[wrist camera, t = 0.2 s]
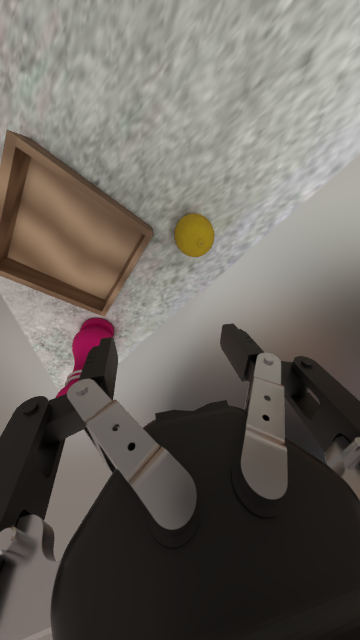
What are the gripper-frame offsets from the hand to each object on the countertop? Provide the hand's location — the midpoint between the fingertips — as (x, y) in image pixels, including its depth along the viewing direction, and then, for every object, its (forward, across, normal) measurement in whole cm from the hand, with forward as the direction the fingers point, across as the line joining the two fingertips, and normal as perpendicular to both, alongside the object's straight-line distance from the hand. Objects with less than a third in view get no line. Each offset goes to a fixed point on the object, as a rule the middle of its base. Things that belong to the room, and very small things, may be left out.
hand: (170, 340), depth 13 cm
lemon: (+21, -6, -6) cm, 23 cm away
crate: (+22, +11, -4) cm, 24 cm away
